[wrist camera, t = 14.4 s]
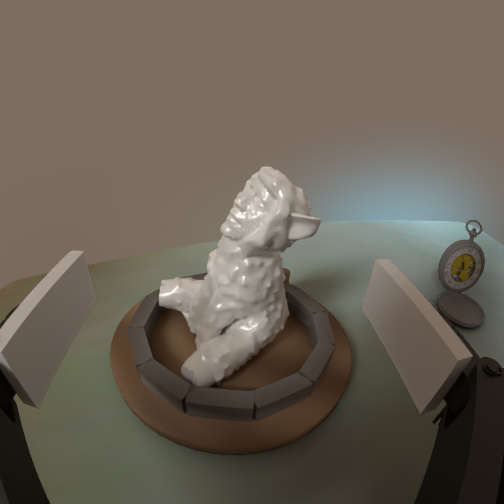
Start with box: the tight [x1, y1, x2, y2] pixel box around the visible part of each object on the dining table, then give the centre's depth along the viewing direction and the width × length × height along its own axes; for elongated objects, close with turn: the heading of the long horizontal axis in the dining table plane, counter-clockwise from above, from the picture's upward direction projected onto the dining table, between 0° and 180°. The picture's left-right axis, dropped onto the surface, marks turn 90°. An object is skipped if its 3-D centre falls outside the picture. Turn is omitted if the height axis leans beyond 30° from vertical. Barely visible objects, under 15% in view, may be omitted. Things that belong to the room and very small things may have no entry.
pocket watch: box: [437, 220, 485, 328], centre depth 24 cm, size 8×8×10 cm
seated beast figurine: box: [159, 167, 321, 388], centre depth 17 cm, size 10×9×12 cm
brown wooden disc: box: [110, 268, 352, 455], centre depth 20 cm, size 18×18×3 cm
